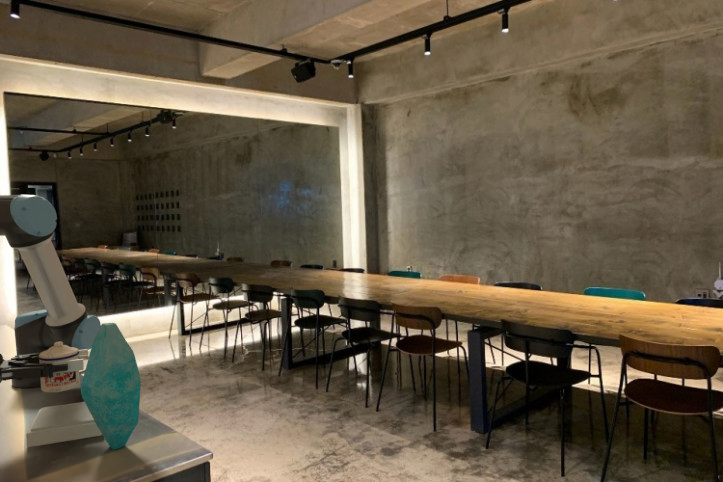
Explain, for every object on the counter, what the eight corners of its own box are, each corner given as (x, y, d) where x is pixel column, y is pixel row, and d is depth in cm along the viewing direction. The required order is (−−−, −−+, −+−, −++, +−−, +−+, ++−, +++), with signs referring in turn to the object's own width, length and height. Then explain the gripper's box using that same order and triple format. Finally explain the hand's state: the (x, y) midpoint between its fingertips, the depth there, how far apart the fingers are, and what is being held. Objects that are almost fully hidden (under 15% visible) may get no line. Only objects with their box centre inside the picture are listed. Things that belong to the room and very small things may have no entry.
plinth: (40, 421, 139) (39, 406, 138) (106, 411, 144) (106, 397, 144) (27, 447, 124) (26, 431, 123) (101, 435, 130) (100, 420, 129)
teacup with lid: (41, 396, 126) (38, 349, 125) (38, 385, 134) (36, 341, 133) (95, 385, 133) (93, 341, 132) (90, 376, 141) (88, 334, 140)
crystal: (101, 467, 114) (94, 334, 111) (78, 448, 123) (71, 324, 121) (154, 448, 123) (149, 323, 120) (129, 431, 132) (124, 315, 130)
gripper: (-5, 372, 136) (91, 361, 145) (-33, 400, 116) (80, 386, 125) (-7, 344, 136) (89, 335, 144) (-35, 368, 116) (79, 356, 124)
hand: (85, 359), depth 134 cm, fingers closed on teacup with lid, 9 cm apart
